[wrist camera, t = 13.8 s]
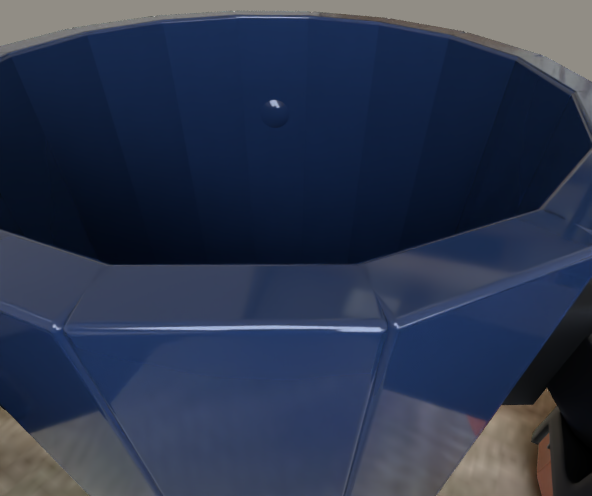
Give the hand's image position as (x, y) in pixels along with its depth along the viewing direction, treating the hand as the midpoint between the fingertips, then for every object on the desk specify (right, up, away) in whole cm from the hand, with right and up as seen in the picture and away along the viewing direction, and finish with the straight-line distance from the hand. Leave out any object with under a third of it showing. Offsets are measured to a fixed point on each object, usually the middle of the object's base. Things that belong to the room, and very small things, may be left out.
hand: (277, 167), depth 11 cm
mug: (0, -7, +2) cm, 7 cm away
